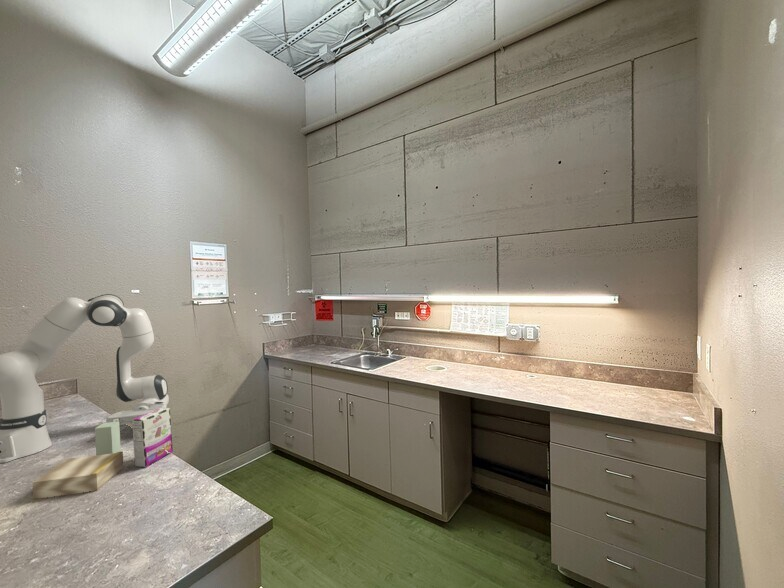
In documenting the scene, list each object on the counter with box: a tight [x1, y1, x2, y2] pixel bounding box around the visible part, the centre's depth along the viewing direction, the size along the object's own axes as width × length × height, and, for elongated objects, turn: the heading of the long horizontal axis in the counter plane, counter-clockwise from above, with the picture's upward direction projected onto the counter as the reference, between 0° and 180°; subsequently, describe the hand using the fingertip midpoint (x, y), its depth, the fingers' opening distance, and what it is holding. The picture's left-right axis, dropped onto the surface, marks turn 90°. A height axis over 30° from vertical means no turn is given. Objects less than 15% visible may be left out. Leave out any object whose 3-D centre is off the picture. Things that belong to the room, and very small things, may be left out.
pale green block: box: [94, 421, 122, 456], centre depth 122 cm, size 5×5×12 cm
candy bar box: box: [131, 407, 174, 468], centre depth 120 cm, size 11×5×16 cm, turn 168°
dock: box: [32, 450, 124, 500], centre depth 107 cm, size 16×14×5 cm
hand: (127, 423), depth 134 cm, fingers open, 8 cm apart
